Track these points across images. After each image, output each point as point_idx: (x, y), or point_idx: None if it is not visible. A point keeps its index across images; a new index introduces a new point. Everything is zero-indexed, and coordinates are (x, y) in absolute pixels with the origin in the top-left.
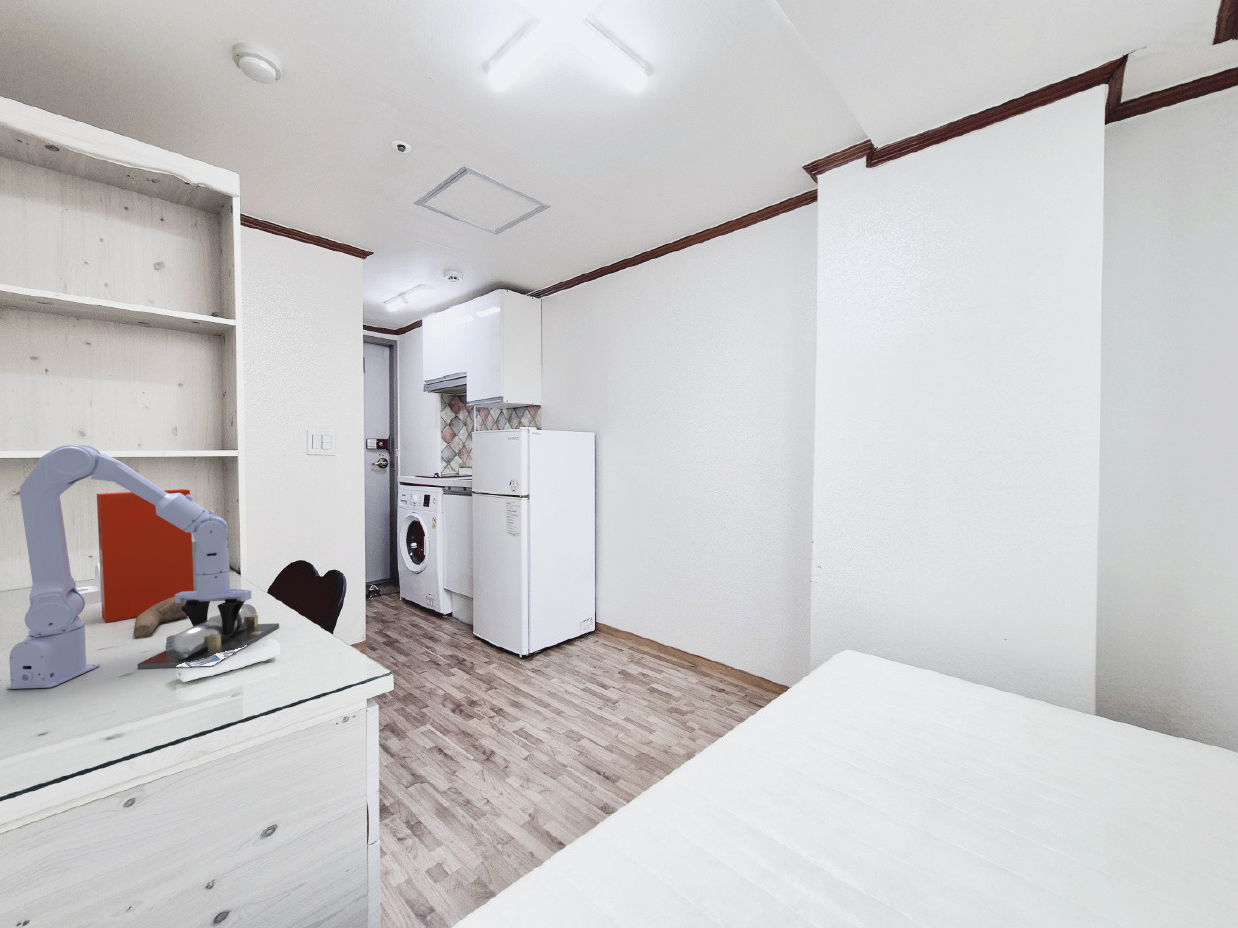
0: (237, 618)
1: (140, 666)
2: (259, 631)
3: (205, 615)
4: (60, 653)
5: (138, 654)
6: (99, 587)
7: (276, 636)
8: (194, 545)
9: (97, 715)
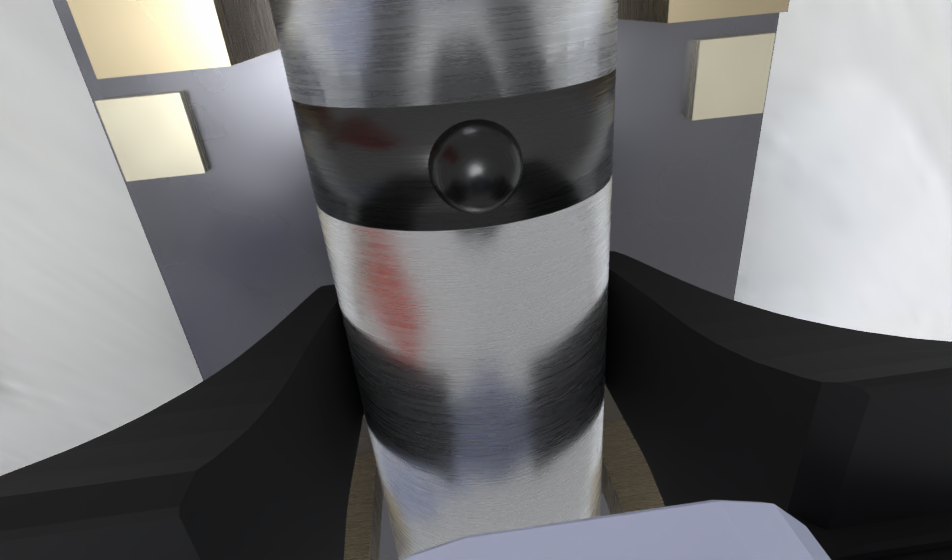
0: (611, 144)
1: None
2: (752, 38)
3: (305, 394)
4: None
5: (2, 420)
6: None
7: (872, 10)
8: None
9: None
